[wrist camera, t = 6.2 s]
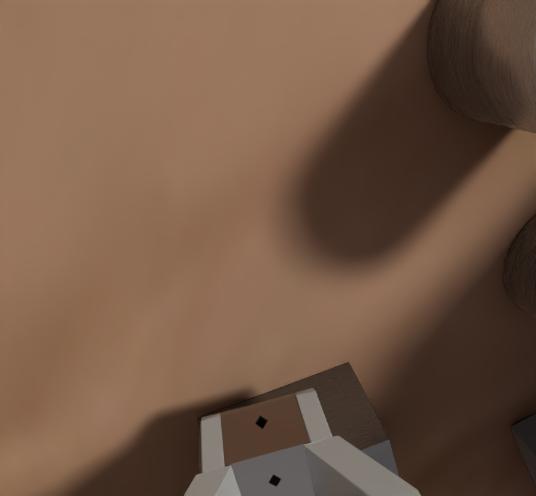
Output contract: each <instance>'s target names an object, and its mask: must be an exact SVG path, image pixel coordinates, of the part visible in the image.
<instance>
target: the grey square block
mask: <svg viewBox="0 0 536 496" xmlns="http://www.w3.org/2000/svg"><path fill="white" fill-rule="evenodd" d="M310 388H313V389H314V390H315V391H316V394H317V397H318V399H319V402H320V405H321V407H322V410H323V413H324V415H325V418H326V421H327V423H328V426H329V429H330V431H331V434H332V437H334V436H340V437H341V438H343V439H344V440H346V441H347V442H349V443H350V444H352V445H353V446H355V447H356V448H357V449H359V450H360V451H362V452H363V453H365V454H366V455H368V456H369V457H371V458H372V459H373V460H375V461H376V462H378V463H379V464H381V465H382V466H384V467H385V468H387V469H388V470H390V471H391V472H392V473H394V474H395V475H397V476H398V477H399V473H398V470H397V466H396V462H395V459H394V455H393V451H392V448H391V444H390V440H389V438H388V436H387V434H386V432H385V430H384V428H383V427H382V425H381V423H380V421H379V419H378V417H377V415H376V413H375V411H374V409H373V407H372V405H371V404H370V402H369V400H368V398H367V396H366V394H365V392H364V390H363V388H362V386H361V384H360V382H359V381H358V379H357V377H356V375H355V373H354V371H353V369H352V367H351V365H350V363H349V362H348V363H346V364H343V365H340V366H338V367H335V368H332V369H330V370H327V371H324V372H322V373H319V374H316V375H313V376H311V377H308V378H305V379H303V380H300V381H297V382H295V383H292V384H289V385H286V386H284V387H281V388H278V389H276V390H273V391H270V392H268V393H265V394H262V395H260V396H257V397H254V398H251V399H249V400H246V401H243V402H241V403H238V404H235V405H233V406H230V407H227V408H224V409H222V410H219V411H216V412H214V413H211V414H208V415H206V416H210V415H214V414H218V413H221V412H225V411H229V410H233V409H237V408H241V407H245V406H249V405H253V404H258V403H260V402H264V401H267V400H271V399H275V398H278V397H282V396H285V395H289V394H293V393H294V394H295V393H296V392H299V391H303V390H306V389H310ZM206 416H203V417H206ZM201 418H202V417H200V418H198V452H199V474H200V473H202V465H201V426H200V422H201Z"/></svg>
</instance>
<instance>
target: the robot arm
mask: <svg viewBox="0 0 536 496" xmlns="http://www.w3.org/2000/svg"><path fill="white" fill-rule="evenodd" d="M200 426H201V465H202V473H200V474H197V475H195V477H194V479H193V481H192V482H191V484H190V486H189V487H188V489H187V491H186V492H185V494H184V496H421V495H420V493H419V491H418V490H417V489H416V488H414V487H413V486H411V485H410V484H408V483H407V482H406V481H404V480H403V479H401V478H400V477H398V476H397V475H395V474H394V473H392V472H391V471H390V470H388V469H387V468H385V467H384V466H382V465H381V464H379V463H378V462H376V461H375V460H373V459H372V458H371V457H369V456H368V455H366V454H365V453H363V452H362V451H360V450H359V449H357V448H356V447H355V446H353V445H352V444H350V443H349V442H347V441H346V440H344V439H343V438H341V437H340V436H334V437H332V434H331V431H330V429H329V426H328V423H327V421H326V418H325V415H324V413H323V410H322V407H321V405H320V402H319V399H318V397H317V394H316V391H315V390H314V389H313V388H310V389H306V390H303V391H299V392H296V393H295V394H294V393H293V394H289V395H285V396H282V397H278V398H275V399H271V400H267V401H264V402H260V403H258V404H253V405H249V406H245V407H241V408H237V409H233V410H229V411H225V412H221V413H218V414H214V415H210V416H206V417H202V418H201V422H200Z"/></svg>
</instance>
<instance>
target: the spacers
mask: <svg viewBox="0 0 536 496" xmlns="http://www.w3.org/2000/svg"><path fill="white" fill-rule="evenodd" d="M428 62H429V69H430V72H431V76H432V79H433V82H434V84H435V86H436V89H437V90H438V92H439V94H440V95H441V97H442V98H443V99H444V101H445V102H446V103H447V104H448V105H449V106H450V107H451V108H452V109H453V110H455V111H456V112H458V113H459V114H461V115H463V116H465V117H468V118H470V119H474V120H478V121H483V122H487V123H492V124H496V125H501V126H505V127H510V128H514V129H519V130H523V131H528V132H532V133H536V0H438V1H437V3H436V5H435V8H434V12H433V15H432V18H431V22H430V28H429V33H428ZM504 285H505V288H506V291H507V294H508V296H509V297H510V299H511V300H512V301H513V302H514V303H515V304H516V305H517V306H518V307H519V308H521V309H522V310H523V311H525V312H526V313H527V314H529V315H530V316H531V317H533V318H534V319H535V320H536V216H535V217H534V218H532V219H531V220H530V221H529V222H528V223H527V225H526V226H525V227H524V228H523V229H522V230H521V232H520V233H519V235H518V236H517V237H516V239H515V241H514V242H513V244H512V246H511V248H510V250H509V253H508V256H507V259H506V262H505V267H504Z"/></svg>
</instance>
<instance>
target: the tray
mask: <svg viewBox="0 0 536 496" xmlns="http://www.w3.org/2000/svg"><path fill="white" fill-rule="evenodd" d="M510 428H511V430H512V432H513V435H514V437H515V439H516V442H517V444H518V446H519V449H520V451H521V454H522V456H523V458H524V461H525V463H526V465H527V468H528V470H529V472H530V475H531V477H532V480H533V482H534V484H535V487H536V415H535V414H533V415H531V416H530V417H528V418H526V419H524V420H522V421H520V422H518V423H517V424H515V425H513V426H511V427H510Z"/></svg>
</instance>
